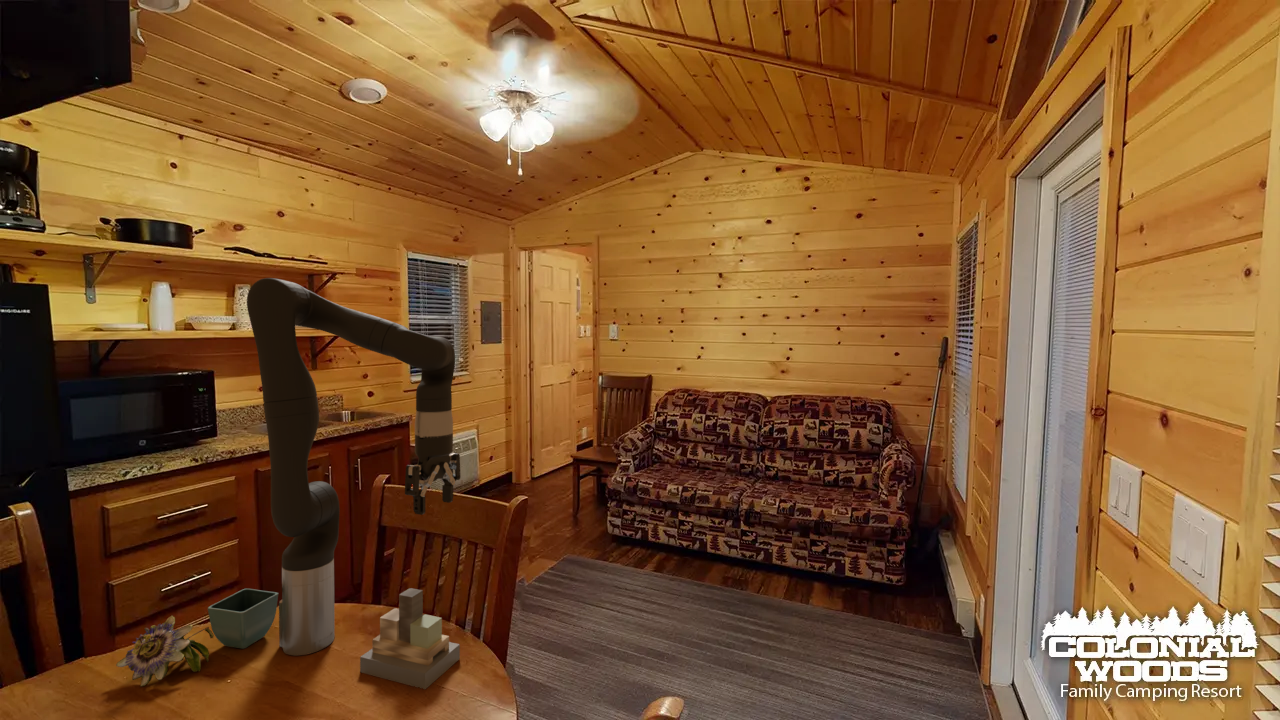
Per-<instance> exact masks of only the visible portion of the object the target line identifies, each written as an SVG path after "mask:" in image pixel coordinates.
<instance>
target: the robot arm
mask: <svg viewBox="0 0 1280 720" xmlns="http://www.w3.org/2000/svg"><path fill="white" fill-rule="evenodd" d="M246 309H247V314H248V317H249V321H250V326H251V329H252V334H253V338H254V341H255V346H256V351H257V357H258V365H259V372H260V374H259V375H260V381H261V388H262V389H261V390H262V401H263V410H264V417H265V418H264V419H265V424H266V430H267V439H268V451H269V462H270V464H269V465H270V513H271V518H272V522H273V524H274V526H275V528H276V529H277V531H278V532H279V533H281V535H283V536H285V537H289V538H293V539H292V541H291V542H290V543H289V544H288V546H287V547H286V548H285V549H284V550H283V552H282V554H281V592H282V593H281V594H282V596H281V598H282V599H281V600H279V603H278V625H279V626H278V629H279V630H278V634H279V636H278V637H279V638H278V639H279V640H278V641H279V643H278V644H279V645H278V646H279V647H280V648H282V651H283V652H284V653H285V654H286V655H290V656H306V655H309V654H313V653H316V652H318V651H322V650H323V649H324V648H326V647H328V646H329V645H331V644H332V643H333V642H334V640H335V550H336V547H337V544H338V541H339V534H340V530H339V529H340V510H341V509H340V500H339V495H338V492H337V491H336V489H335V488H334V487H333V486H332V485H331V484H330V483H328V482H326V481H323V480H321V481H320V480H318V481H311V482H309V474H308V464H309V463H308V461H309V456H310V453H311V450H312V446H313V443H314V441H315V437H316V435H317V431H318V427H319V424H320V411H319V401H318V393H317V389H316V385H315V382H314V379H313V378H312V375H311V374H310V371H309V369H308V367H307V366H306V364H305V362H304V360H303V358H302V356H301V353H300V350H299V348H298V342H297V332H296V326H297V327H301V328H302V327H303V328H309V329H314V330H318V331H323V332H325V333H329V334H331V335H335V336H337V337H339V338H341V339H343V340H345V341H347V342H349V343H352V344H353V345H356V346H357V347H361V348H362V349H366V350H369V351H372V352H375V353H377V354H380V355H383V356H387V357H391V358H394V359H396V360H398V361H400V362H402V363H405V364H406V365H409V366H411V367H414V368H416V369H418V370H419V369H420V370H421V373H420V374H421V375H420V382H419V384H418V385H417V387H416V392H415V419H414V454H415V456H417V458H418V461H417V464H414V465H413V464H407V465H406V466H405V473H404V475H405V478H404V479H405V480H404V483H405V484H404V494H405V496H412V498H413V499H412V501H413V509H412V510H413V512H414V514H416V515H421V516H422V515H424V514H426V496H425V495H426V493H427V490H428V488H429V487H431V486H432V484H433V482H435V481H437V480H440V481H441V483H442V489H441V491H442V494H441V495H442V500H441V501H442V502H443V503H448V504H449V503H452V502H453V500H454V485H455V484H456V481H459V480H460V479H461V459H460V458H461V455H460V453H459V452H458V453H456V452H453V451H454V418H453V412H452V411H453V410H452V409H453V408H452V407H453V406H452V404H453V402H452V399H453V398H452V394H453V393H452V385H453V379H454V372H455V366H456V365H455V364H456V353H455V349H454V348H455V347H454V346H453V344H452V343H451V341H449V340H448V339H447V338H445V337H443V336H430V335H427V334H423V333H419V332H416V331H413V330H411V329H409V328H408V327H406V326H405V325H402V324H399V323H397V322H394V321H392V320H388V319H385V318H383V317H379V316H375V315H373V314H370V313H365V312H363V311H359V310H356V309H353V308H348V307H346V306H343V305H341V304H338V303H336V302H333V301H331V300H328V299H326V298H325V297H323V296H320V295H319V294H317V293H315V292H313V291H312V290H309V289H307V288H306V287H304V286H302V285H300V284H298V283H296V282H293V281H289V280H285V279H281V278H273V277H265V278H261V279H258V280H257V281H256V282H254V283H253V284H252V285H251V287H249V290H248V292H247V297H246ZM422 479H423V480H422Z"/></svg>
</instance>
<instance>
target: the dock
mask: <svg viewBox="0 0 1280 720" xmlns="http://www.w3.org/2000/svg"><path fill="white" fill-rule="evenodd" d="M460 649H461V647H460V643H456V642H451V641H449V649H448V650H447V651H445V652H444V651H439V652H438V653H437V654H436V655H435V656H433V662H432V663H431V664H430V665H429V666H427V665H423V664H419V663H415V662H411V661H407V660H403V659H398V658H394V657H390V656H386V655H382V654H378V653H374V652H372V648H370V649H369V650H368V651H367V652H365V653H364V654H362V655H361V656H360V657H359V660H360V662H359V669H360V670H359V672H360V673H362V674H365V675H369V676H374V677H377V678H381V679H385V680H389V681H392V682H396V683H400V684H404V685H407V686H411V687H414V686H415V688H418V687H420V688H419V689H422V688H423V690H426V689H427V688H429V687H430V685H432V684H433V683H434V682H435V681H436V680H437V679H438V678H440V677H441V676H442V675H443V674H444V673H445V672H446V671H448V670H449V669H450V668H451V667H452V666H453V665H454V664H456V663H457V662H458V661H459V660H460V655H461V654H460V653H461V652H460V651H461V650H460Z"/></svg>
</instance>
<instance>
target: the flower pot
mask: <svg viewBox="0 0 1280 720" xmlns="http://www.w3.org/2000/svg"><path fill="white" fill-rule="evenodd" d="M278 600H279V592H276V591H268V590H260V589H254V588H244V589H241V590H239V591H237V592H235V593H233V594H231V595H229V596H227V597H225V598H222V599H221V600H220V601H218V602H215V603H213V604H211V605H210V606H208V607H207V613H208V617H209V622H210V627H211V631H212V633H213V635H214V636H215V638H216V639H217V640H218V642H220V643H221V644H222V645H223V646H224V647H231V648H237V649H241V650H242V649H246V648H249V646H252V645H253V644H255V642H257V641H260V640H261V639H262V638H264V637H265V636H266V635H267V633H268V632H269V630H270V629H271V627H272V625H273V624H274V621H275V618H276V613H277V607H278Z"/></svg>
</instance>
